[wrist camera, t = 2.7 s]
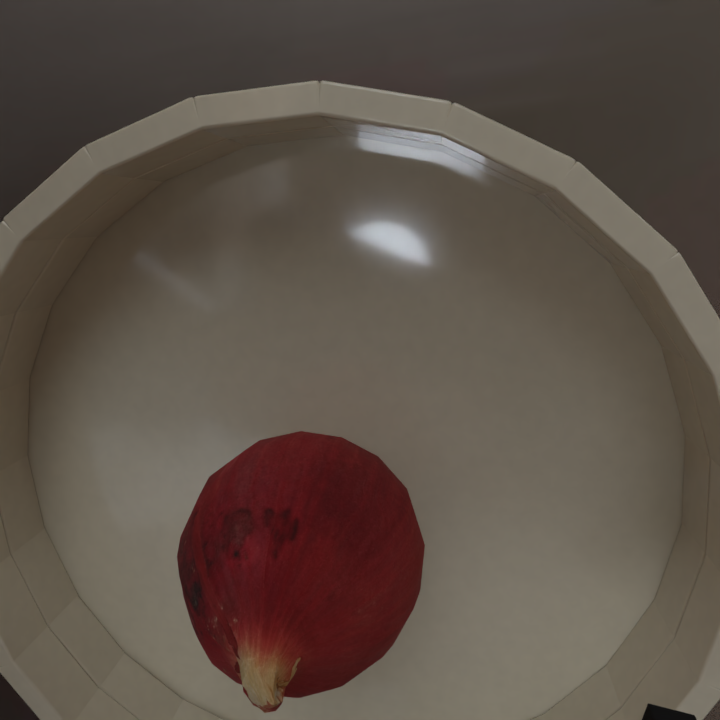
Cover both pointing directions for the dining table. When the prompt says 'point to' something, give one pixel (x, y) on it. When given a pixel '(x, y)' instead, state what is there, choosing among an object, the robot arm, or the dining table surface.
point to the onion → (300, 565)
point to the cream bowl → (359, 406)
